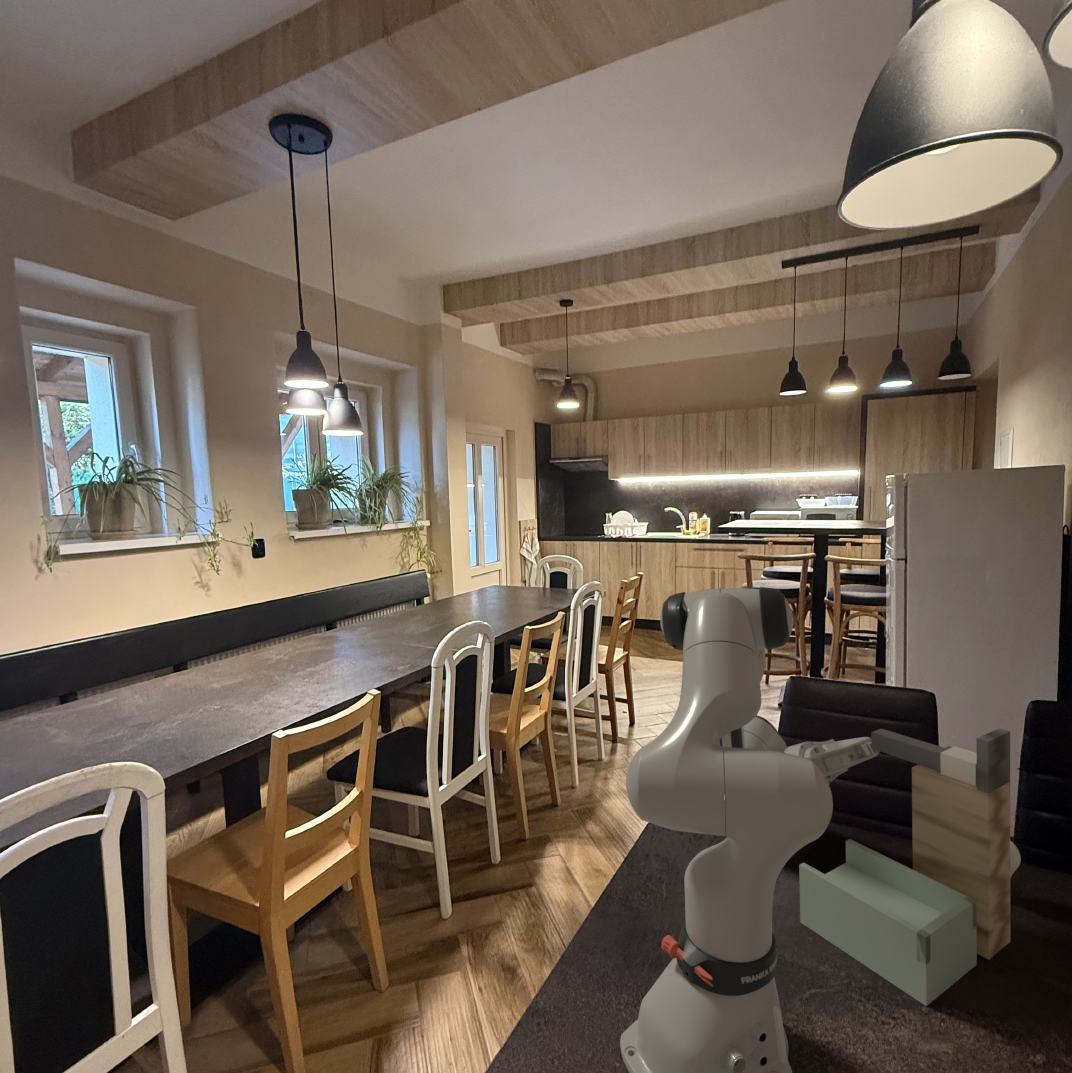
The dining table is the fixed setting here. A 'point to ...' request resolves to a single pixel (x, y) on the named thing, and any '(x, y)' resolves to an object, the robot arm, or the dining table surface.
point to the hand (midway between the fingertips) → (867, 751)
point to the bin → (892, 920)
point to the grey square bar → (928, 755)
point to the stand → (969, 836)
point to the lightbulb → (1014, 858)
